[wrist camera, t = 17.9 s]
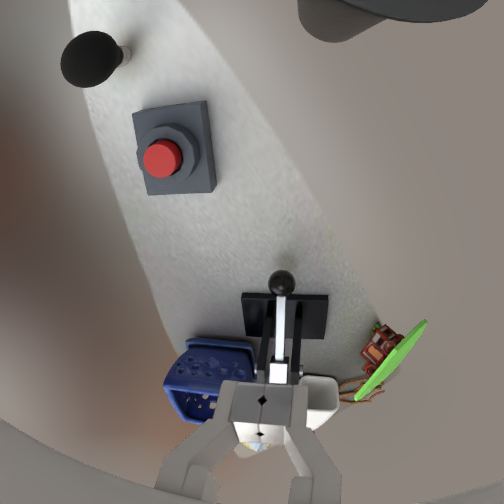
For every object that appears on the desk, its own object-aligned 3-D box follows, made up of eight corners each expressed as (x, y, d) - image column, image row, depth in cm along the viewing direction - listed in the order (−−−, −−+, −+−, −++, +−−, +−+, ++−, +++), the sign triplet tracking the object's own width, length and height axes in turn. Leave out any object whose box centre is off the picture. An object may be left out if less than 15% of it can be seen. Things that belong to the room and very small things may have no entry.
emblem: (385, 398, 55) (384, 396, 56) (383, 375, 50) (382, 372, 50) (329, 408, 59) (329, 405, 59) (319, 386, 54) (319, 383, 54)
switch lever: (269, 268, 38) (266, 271, 35) (296, 268, 38) (295, 272, 35) (267, 373, 39) (264, 384, 36) (291, 374, 39) (290, 385, 36)
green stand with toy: (405, 340, 33) (369, 309, 36) (345, 411, 40) (318, 383, 43) (439, 310, 42) (411, 288, 46) (390, 373, 49) (367, 352, 53)
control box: (140, 110, 32) (123, 116, 28) (206, 100, 30) (194, 105, 27) (155, 188, 37) (141, 202, 34) (216, 185, 36) (207, 199, 32)
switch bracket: (242, 292, 44) (224, 358, 35) (328, 295, 42) (330, 364, 33) (247, 330, 49) (233, 393, 39) (323, 333, 47) (323, 398, 37)
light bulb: (145, 26, 26) (92, 21, 18) (151, 73, 29) (100, 81, 21) (102, 41, 27) (45, 44, 19) (108, 85, 30) (53, 99, 22)
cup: (279, 436, 56) (299, 410, 47) (281, 406, 61) (299, 374, 52) (313, 438, 56) (340, 412, 47) (313, 408, 62) (337, 377, 52)
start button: (147, 141, 30) (140, 146, 29) (179, 138, 29) (172, 142, 28) (153, 173, 32) (146, 179, 31) (184, 170, 31) (178, 176, 30)
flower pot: (264, 378, 56) (255, 434, 46) (197, 371, 58) (180, 423, 48) (260, 332, 49) (249, 397, 39) (181, 326, 51) (158, 384, 41)
